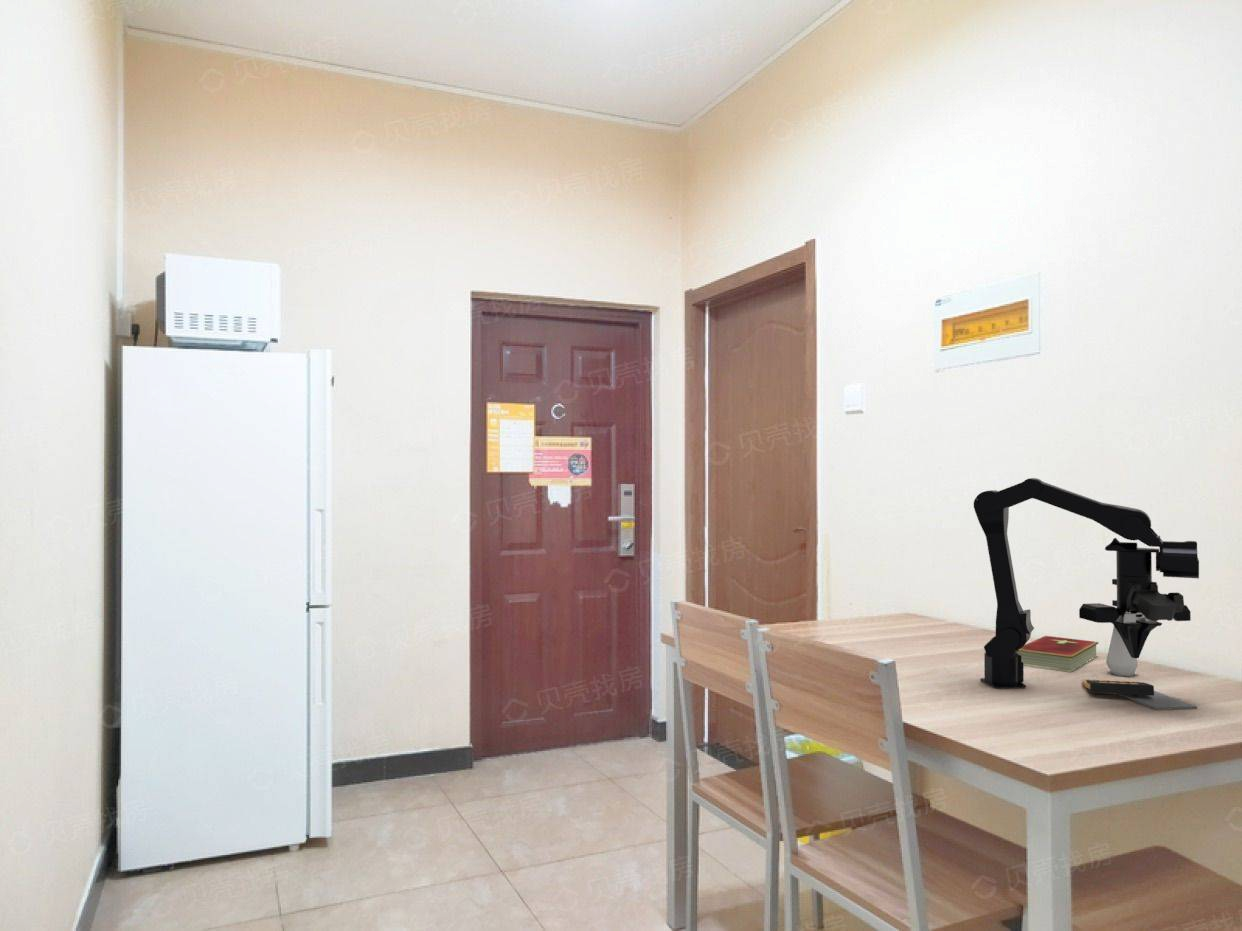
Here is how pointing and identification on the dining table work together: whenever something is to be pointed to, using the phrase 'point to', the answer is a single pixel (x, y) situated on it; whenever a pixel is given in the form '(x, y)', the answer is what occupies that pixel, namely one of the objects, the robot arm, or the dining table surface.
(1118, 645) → the salt shaker
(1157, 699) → the mat
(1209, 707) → the dining table surface
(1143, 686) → the ammunition clip
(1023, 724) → the dining table surface
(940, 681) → the dining table surface
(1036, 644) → the hardcover book
